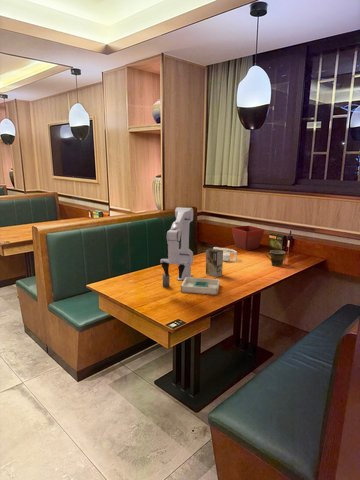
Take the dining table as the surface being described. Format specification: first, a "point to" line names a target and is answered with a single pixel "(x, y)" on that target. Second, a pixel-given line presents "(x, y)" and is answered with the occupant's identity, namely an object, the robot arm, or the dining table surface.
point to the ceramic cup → (276, 257)
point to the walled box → (200, 285)
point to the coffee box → (214, 262)
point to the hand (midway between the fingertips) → (173, 277)
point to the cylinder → (166, 280)
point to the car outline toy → (227, 254)
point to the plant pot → (247, 237)
